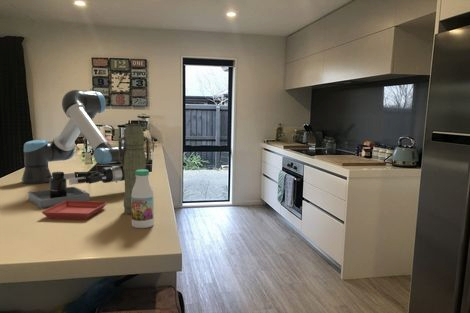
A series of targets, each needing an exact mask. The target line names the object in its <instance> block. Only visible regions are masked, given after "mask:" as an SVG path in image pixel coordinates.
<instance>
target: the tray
mask: <svg viewBox="0 0 470 313" xmlns="http://www.w3.org/2000/svg"><path fill="white" fill-rule="evenodd" d="M27 194H28V195H27V197H28V201H30V202H31V203H32V204H33V203H34V204H33V205H35V206H36V207H37V206H38V207H37V208H38V209H40V210H41V208H43V209H49V208H48V207H50V208H51V207H53V206H55V205H58V204H60V203H62V202H64V201H90V193H89V192H88V191H87V192H86V191H85V190H82V189H80V188H78V187H76V186H68V187H67V196H66V197H59V198H51V199H50V189H44V190H43V189H42V190H36V191H35V190H34V191H29V192H28V193H27ZM90 202H91V201H90Z"/></svg>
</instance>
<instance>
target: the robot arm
mask: <svg viewBox="0 0 470 313" xmlns="http://www.w3.org/2000/svg"><path fill="white" fill-rule="evenodd" d="M105 98H106V97H105V96H104V95H103V93H101V92H100V91H95V90H84V89H83V90H82V89H81V90H80V89H71V90H69V91H67V92H66V93H65V94H64V95H63V96H62V100H61V107H62V110H63V112H64V114H65V115H66V116H67V118H68V121H67V123H66V125H65V126H64V127H63V129H62V131H61V132H60V134H58V135H55V137H54V138H53V140H52V141H48V140H46V139H33V140H29V141H26V142H25V143H24V144H23V159H24V170H23V174H22V177H21V183H22V184H29V185H30V184H31V185H32V184H34V185H35V184H44V183H50V179H52V178H53V177H52V172H51V171H50V167H49V163H50V162H59V161H68V160H70V159H72V158H73V157H74V156H75V152H76V147H75V141H76V140H77V139H78V137H79V136H80V134H82V135H83V136H84V138H85V139H86V141H87V142H88V144H89V145H90V146H91V148H92V149H93V158H94V161H95V163H97V164H98V165H108V164H113V163H120V162H119V146H112V145H111V144H110V143H109V141H108V140H107V139H106V137H105V136H104V134H103V133H102V132H101V130H100V129H99V128H98V126H97V125H96V124H95V122H94V121H93V119H94V118H95V117H96V116H97V114H102V113H103V112H105V109H106V105H107V104H106V99H105ZM124 149H125V145H124V141H122V160H123V154H124ZM64 178H65V179H66V181H67V180H68V184H69V186H70V185H71V186H72V185H79V184H80V185H81V184H94V183H98V182H102V183H103V184H106V183H113V182H114V183H118V182H125V174H124V170H123V164H121V163H120V165H118V166H116V165H114V166H110V167H109V166H106V167H102V168H100V171H96V170H94V171H74V172H69V173H64Z"/></svg>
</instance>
